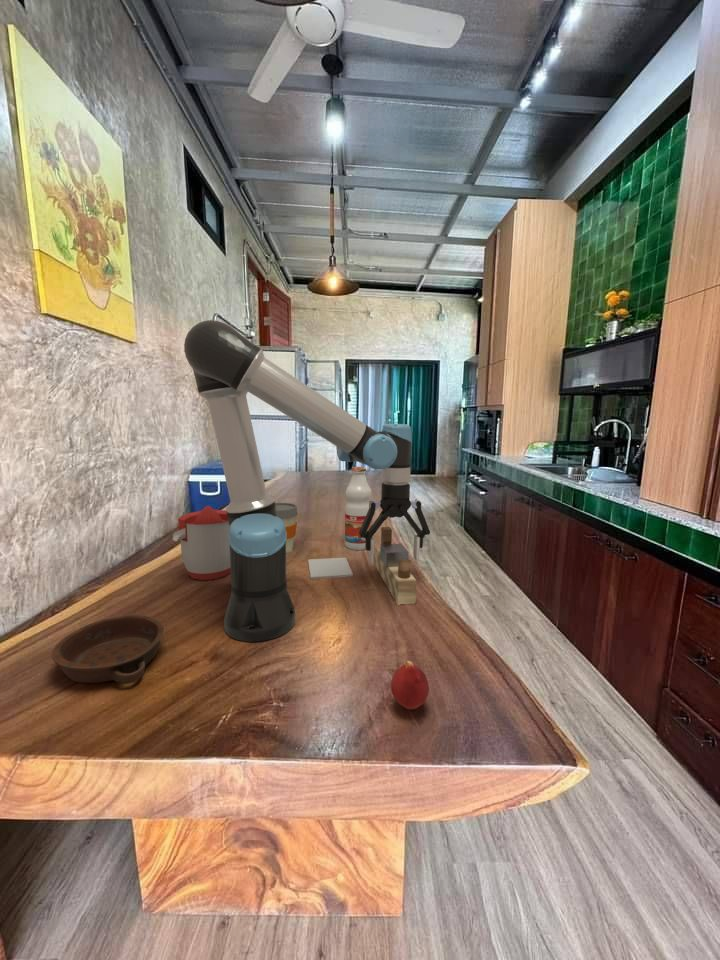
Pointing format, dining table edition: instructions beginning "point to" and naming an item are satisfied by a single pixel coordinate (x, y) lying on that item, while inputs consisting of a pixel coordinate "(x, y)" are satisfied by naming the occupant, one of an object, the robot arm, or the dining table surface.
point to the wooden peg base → (396, 574)
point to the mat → (329, 568)
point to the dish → (110, 649)
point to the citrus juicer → (205, 543)
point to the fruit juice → (356, 508)
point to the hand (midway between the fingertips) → (393, 560)
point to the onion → (410, 686)
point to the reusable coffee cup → (288, 521)
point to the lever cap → (392, 554)
